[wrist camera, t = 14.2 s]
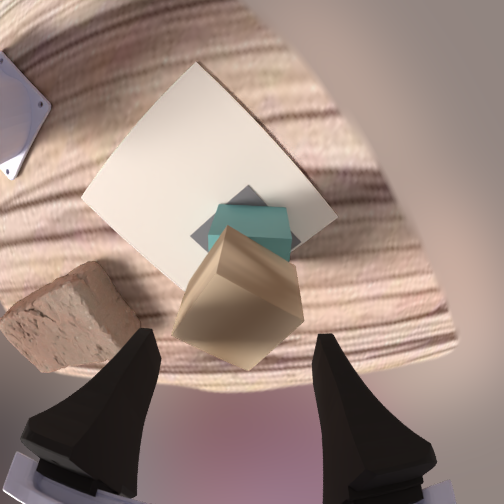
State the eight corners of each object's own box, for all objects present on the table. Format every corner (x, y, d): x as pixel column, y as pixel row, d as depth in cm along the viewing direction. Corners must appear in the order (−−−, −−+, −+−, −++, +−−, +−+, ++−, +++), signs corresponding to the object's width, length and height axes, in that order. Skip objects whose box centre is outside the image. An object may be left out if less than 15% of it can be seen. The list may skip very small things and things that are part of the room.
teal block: (219, 261, 22) (210, 299, 18) (218, 204, 20) (208, 234, 16) (280, 264, 22) (283, 303, 18) (286, 207, 20) (292, 238, 16)
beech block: (188, 281, 18) (170, 335, 14) (227, 224, 16) (216, 273, 12) (251, 315, 19) (248, 370, 15) (295, 266, 17) (304, 320, 13)
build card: (82, 196, 20) (80, 198, 20) (196, 62, 15) (195, 61, 15) (209, 309, 25) (208, 312, 25) (337, 216, 20) (338, 217, 20)
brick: (94, 253, 23) (68, 286, 19) (147, 324, 27) (132, 361, 23) (14, 299, 27) (-6, 325, 23) (55, 349, 31) (40, 376, 27)
